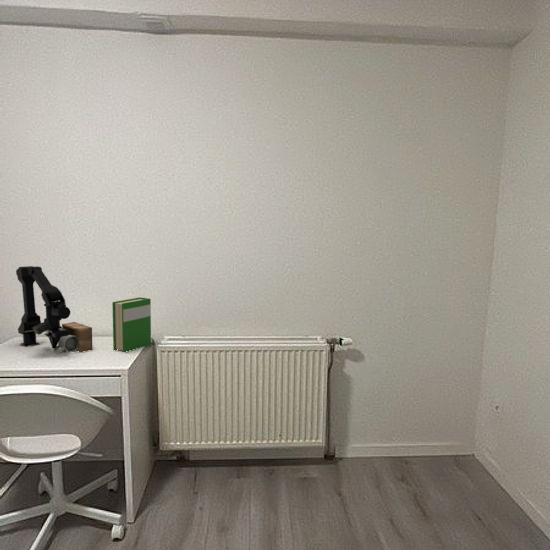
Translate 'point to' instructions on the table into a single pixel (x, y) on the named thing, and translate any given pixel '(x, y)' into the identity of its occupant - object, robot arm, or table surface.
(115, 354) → the table surface
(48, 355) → the table surface
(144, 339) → the hardback book
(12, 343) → the table surface
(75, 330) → the wooden storage tray
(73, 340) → the ceramic mug
